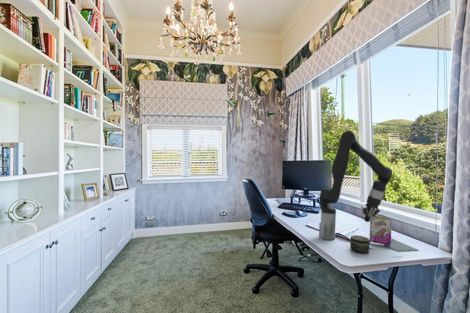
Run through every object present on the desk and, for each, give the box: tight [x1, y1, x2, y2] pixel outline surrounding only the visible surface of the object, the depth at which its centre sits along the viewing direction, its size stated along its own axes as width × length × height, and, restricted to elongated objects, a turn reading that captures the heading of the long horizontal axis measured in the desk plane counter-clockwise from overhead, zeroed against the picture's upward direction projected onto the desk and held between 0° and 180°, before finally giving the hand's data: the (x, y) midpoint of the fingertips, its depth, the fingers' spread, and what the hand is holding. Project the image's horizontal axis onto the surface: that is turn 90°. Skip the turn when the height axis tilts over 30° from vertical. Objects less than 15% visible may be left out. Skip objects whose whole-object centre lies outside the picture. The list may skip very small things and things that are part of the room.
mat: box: [384, 238, 419, 253], centre depth 148 cm, size 15×18×1 cm
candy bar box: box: [369, 215, 392, 246], centre depth 149 cm, size 11×5×16 cm, turn 65°
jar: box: [349, 234, 371, 255], centre depth 137 cm, size 10×10×8 cm
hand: (366, 221), depth 152 cm, fingers closed
